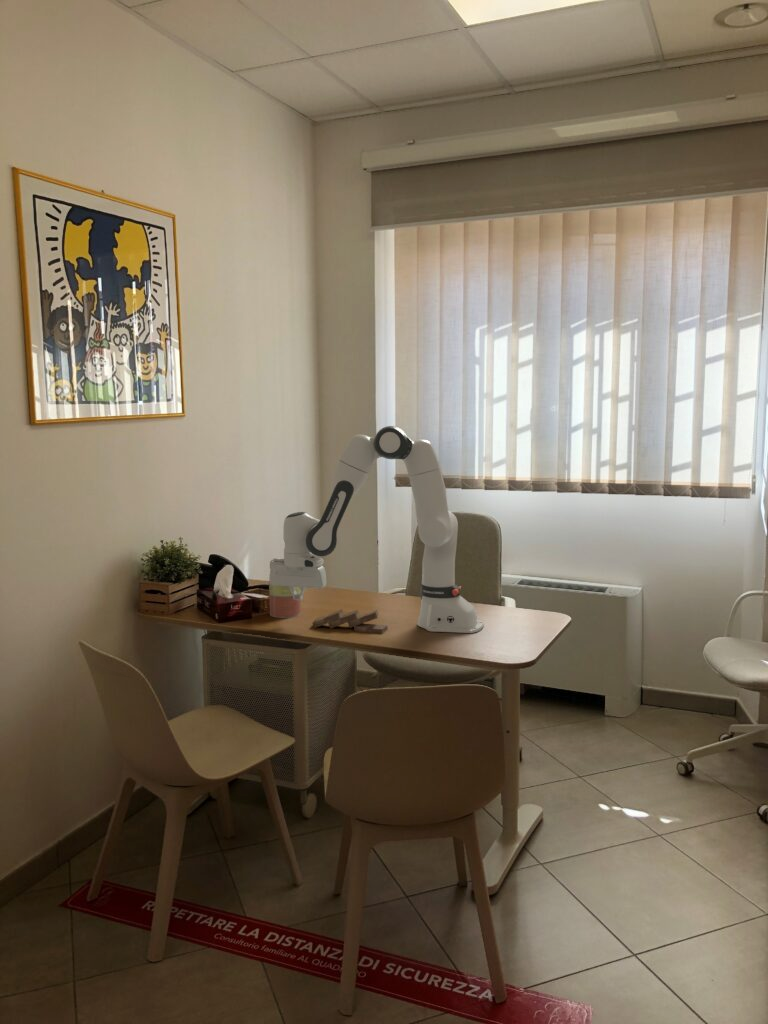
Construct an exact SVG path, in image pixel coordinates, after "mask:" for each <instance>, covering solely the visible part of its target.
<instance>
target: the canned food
mask: <svg viewBox="0 0 768 1024" xmlns="http://www.w3.org/2000/svg"><path fill="white" fill-rule="evenodd" d="M268 585H269V587H268V588H269V589H268V590H269V591H268V592H269V615H270V617H273V618H280V619H282V618H283V619H287V618H295V617H298V616H300V615H302V602H301V601H302V600H294V599H293V594H292V592H291V591H290V587H289V586H274V585H271V584H270V582H269V581H268ZM295 591H296V593H297V594H300V592H301V590H300V587H296V589H295Z"/></svg>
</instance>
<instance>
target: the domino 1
mask: <svg viewBox="0 0 768 1024" xmlns="http://www.w3.org/2000/svg"><path fill="white" fill-rule="evenodd" d="M343 615H345V612H344V611H343V608H341V609H339V610H337V611H334V612H331V613H328V614H326V615H322V616H320V617H317V618H316V619H314V620H313V621H312V622H311V623H312V625H313V628H314V629H316V628H318V627H322V626H324V625H327V624H328V623H330V622H332V621H335V620H337V619H340V618H342V616H343Z"/></svg>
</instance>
